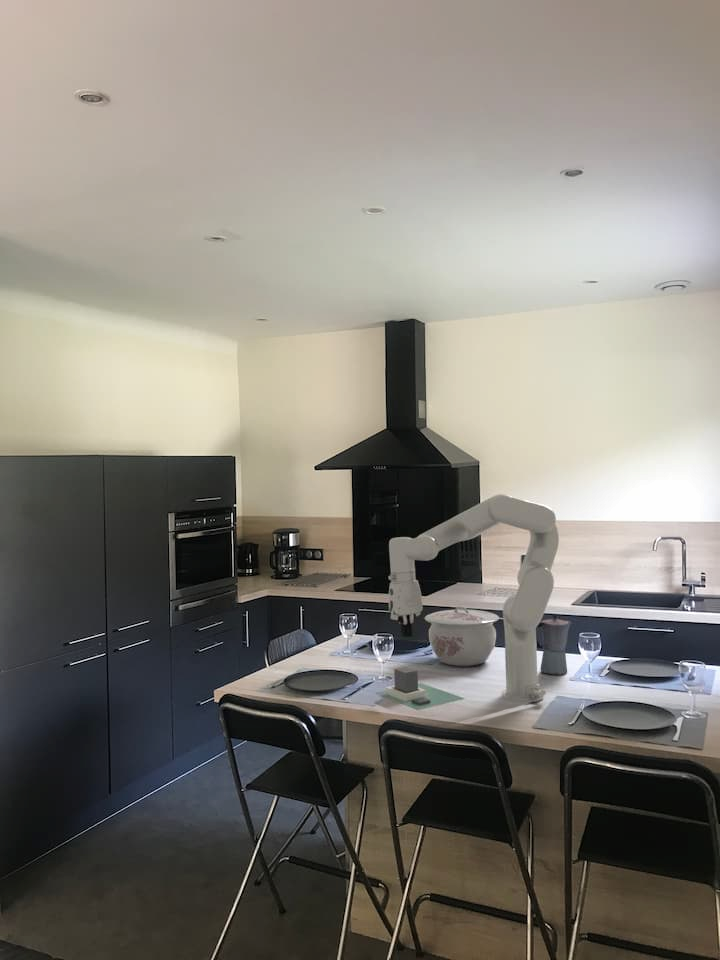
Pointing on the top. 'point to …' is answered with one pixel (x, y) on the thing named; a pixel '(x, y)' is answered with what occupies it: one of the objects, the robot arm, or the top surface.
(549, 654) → the moka pot
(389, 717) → the top surface
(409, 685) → the plug
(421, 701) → the board
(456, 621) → the chamber pot
